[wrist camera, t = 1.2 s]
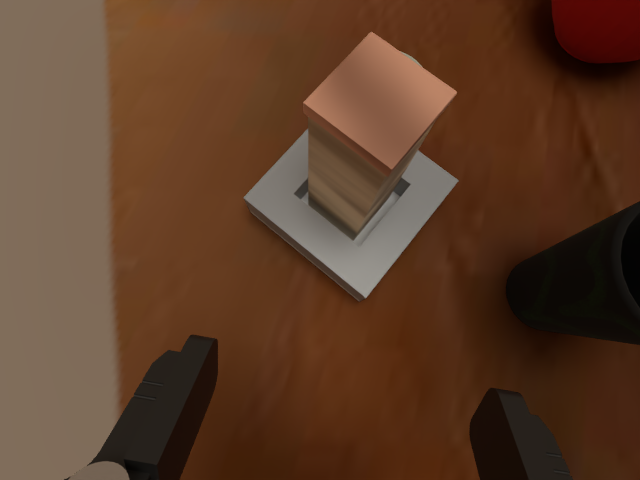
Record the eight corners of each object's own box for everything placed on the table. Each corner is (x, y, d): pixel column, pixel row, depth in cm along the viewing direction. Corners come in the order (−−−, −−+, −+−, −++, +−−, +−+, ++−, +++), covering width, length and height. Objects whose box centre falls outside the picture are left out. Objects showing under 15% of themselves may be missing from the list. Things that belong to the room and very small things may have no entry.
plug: (343, 162, 31) (371, 31, 17) (391, 198, 30) (457, 92, 17) (305, 205, 30) (303, 102, 16) (353, 243, 29) (391, 169, 16)
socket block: (337, 117, 32) (340, 93, 29) (442, 196, 31) (458, 180, 28) (250, 212, 30) (243, 197, 27) (359, 301, 29) (365, 298, 25)
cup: (502, 233, 30) (623, 172, 19) (596, 260, 30) (779, 216, 18) (484, 328, 29) (605, 326, 17) (584, 358, 28) (777, 377, 17)
